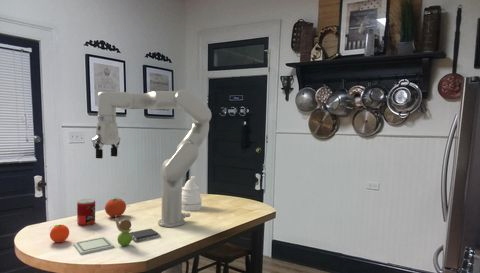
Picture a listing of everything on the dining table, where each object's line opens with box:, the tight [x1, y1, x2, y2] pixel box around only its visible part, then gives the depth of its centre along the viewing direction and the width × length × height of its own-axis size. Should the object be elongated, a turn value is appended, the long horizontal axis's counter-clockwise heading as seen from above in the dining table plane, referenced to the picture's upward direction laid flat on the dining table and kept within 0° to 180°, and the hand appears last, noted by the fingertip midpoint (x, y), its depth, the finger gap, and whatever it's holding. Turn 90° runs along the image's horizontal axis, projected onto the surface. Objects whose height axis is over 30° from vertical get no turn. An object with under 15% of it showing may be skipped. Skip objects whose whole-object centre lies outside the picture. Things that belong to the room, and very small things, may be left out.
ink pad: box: [129, 228, 161, 243], centre depth 139 cm, size 11×9×2 cm
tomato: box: [104, 197, 127, 218], centre depth 168 cm, size 10×10×10 cm
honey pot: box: [182, 175, 203, 212], centre depth 187 cm, size 13×13×18 cm
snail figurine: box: [114, 215, 133, 247], centre depth 128 cm, size 5×6×12 cm
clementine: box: [49, 224, 70, 243], centre depth 131 cm, size 8×7×7 cm
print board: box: [73, 236, 115, 256], centre depth 127 cm, size 12×12×1 cm
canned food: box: [76, 198, 96, 227], centre depth 155 cm, size 8×8×11 cm
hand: (106, 157), depth 147 cm, fingers open, 9 cm apart
